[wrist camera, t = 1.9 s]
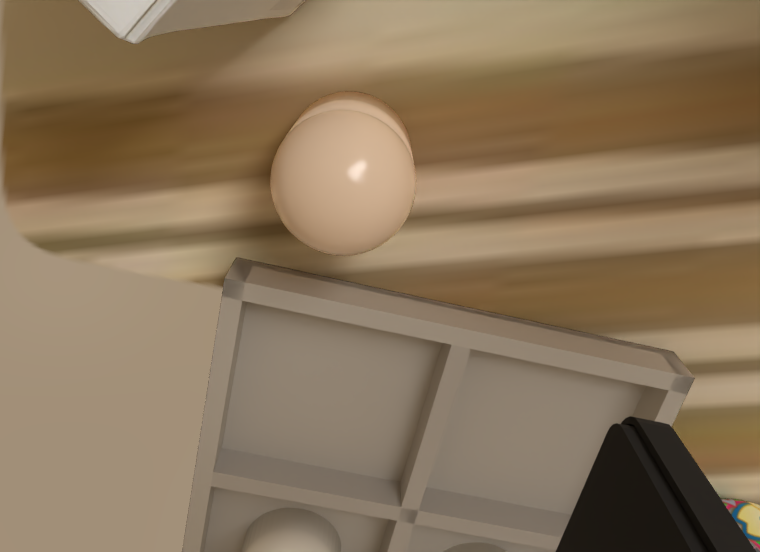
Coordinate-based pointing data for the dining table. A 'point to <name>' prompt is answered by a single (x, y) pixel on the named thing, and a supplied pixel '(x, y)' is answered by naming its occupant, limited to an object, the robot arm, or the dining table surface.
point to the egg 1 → (344, 174)
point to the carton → (406, 416)
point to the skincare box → (180, 14)
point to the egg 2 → (475, 547)
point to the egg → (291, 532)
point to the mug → (746, 519)
